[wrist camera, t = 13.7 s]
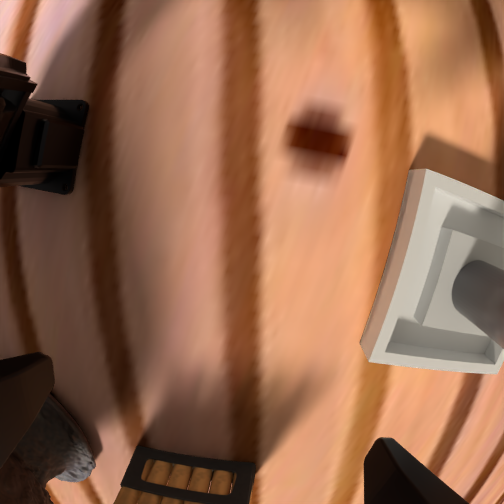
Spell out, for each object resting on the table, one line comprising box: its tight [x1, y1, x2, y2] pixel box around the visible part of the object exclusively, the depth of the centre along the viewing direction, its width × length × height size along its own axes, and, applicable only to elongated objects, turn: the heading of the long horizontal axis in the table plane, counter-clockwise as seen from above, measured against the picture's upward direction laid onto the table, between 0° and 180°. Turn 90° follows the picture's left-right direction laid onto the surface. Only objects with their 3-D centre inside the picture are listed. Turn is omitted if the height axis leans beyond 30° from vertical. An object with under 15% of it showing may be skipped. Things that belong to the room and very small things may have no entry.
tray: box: [360, 169, 504, 374], centre depth 18 cm, size 12×12×2 cm
